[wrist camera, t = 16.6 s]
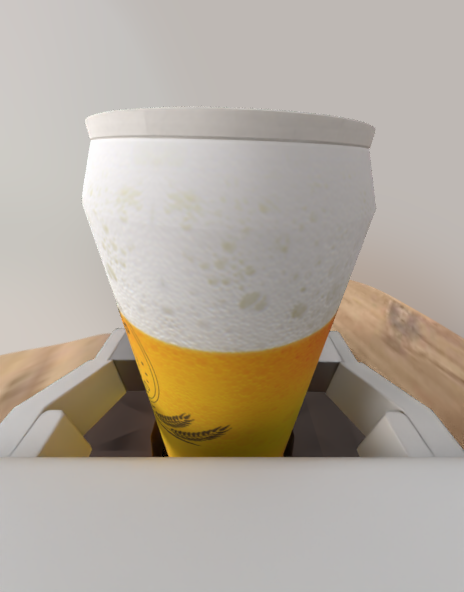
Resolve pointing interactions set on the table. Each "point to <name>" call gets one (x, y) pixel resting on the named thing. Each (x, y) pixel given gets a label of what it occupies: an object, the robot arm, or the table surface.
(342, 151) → the beer can
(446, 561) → the robot arm
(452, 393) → the table surface
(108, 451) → the holder
